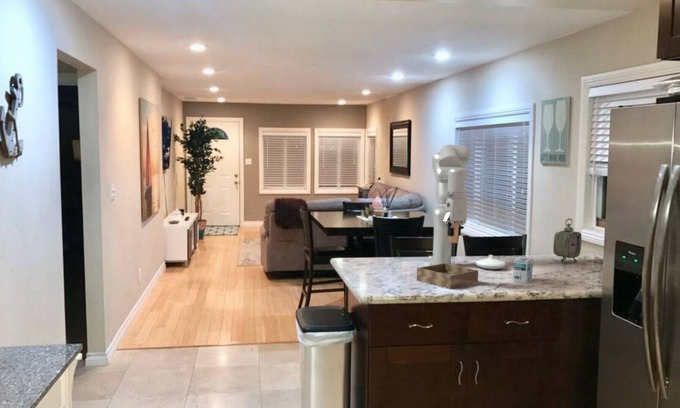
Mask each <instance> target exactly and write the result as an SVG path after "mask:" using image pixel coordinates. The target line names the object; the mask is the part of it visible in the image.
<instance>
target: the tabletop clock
mask: <svg viewBox="0 0 680 408" xmlns="http://www.w3.org/2000/svg"><path fill="white" fill-rule="evenodd" d="M569 220H570V221H571V222H570V223H567V222H568V221H569ZM564 223H565V226H564V228H563V230H560V231H557V232H555V234H554V237H553V248H552V249H553V254H555V256H557V257H562V259H560V261H561V263H563V264H564V265H567V263H568V262H567V258H568V259H573V262H574V263H577V262H578V260H577V259H576V258H578V257H579V256H580V255H581V250H582V232H581V231H579V232H578V231H574V228H573V227H572V226H571V225H573V219H572V218H570V217H569V218H567V219H566V220H565V222H564Z"/></svg>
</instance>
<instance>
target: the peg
mask: <svg viewBox="0 0 680 408" xmlns="http://www.w3.org/2000/svg"><path fill="white" fill-rule="evenodd" d="M451 221H452V220H451ZM450 223H451V222H450ZM453 228H454V236H453V237H452V236H449V242H450V243H452V244H458V243H459V235H458V230H459V221H454V225H453Z"/></svg>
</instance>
